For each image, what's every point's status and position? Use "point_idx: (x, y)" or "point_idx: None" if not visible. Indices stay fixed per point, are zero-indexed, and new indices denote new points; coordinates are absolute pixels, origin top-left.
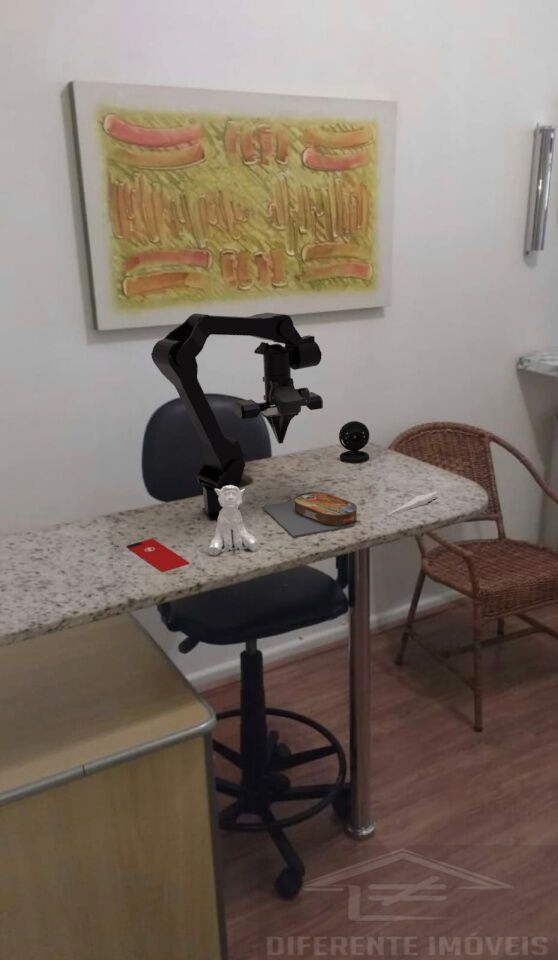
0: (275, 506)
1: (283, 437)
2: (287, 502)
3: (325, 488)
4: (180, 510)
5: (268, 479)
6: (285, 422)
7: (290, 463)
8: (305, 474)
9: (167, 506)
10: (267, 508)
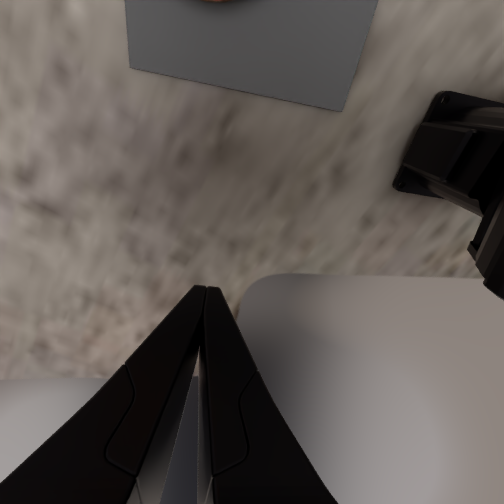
0: (312, 74)
1: (184, 308)
2: (256, 84)
3: (72, 147)
4: None
5: None
6: (110, 466)
7: (114, 346)
8: (100, 278)
9: (476, 267)
10: (344, 74)
